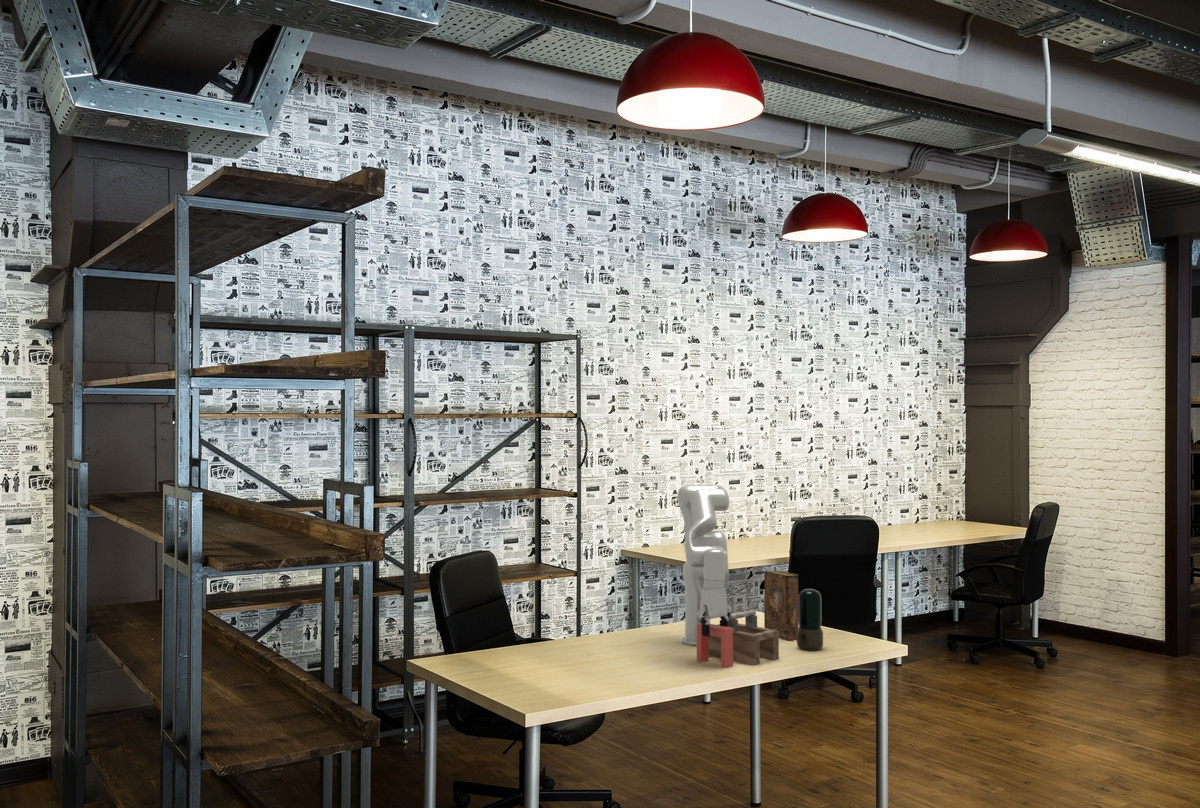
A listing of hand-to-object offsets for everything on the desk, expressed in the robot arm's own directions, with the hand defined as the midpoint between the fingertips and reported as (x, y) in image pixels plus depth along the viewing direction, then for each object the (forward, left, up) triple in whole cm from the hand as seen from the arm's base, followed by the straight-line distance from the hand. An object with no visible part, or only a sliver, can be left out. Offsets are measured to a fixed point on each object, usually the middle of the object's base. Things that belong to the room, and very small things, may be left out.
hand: (714, 633), depth 347 cm
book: (-54, -11, -11) cm, 56 cm away
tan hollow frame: (-15, 0, -10) cm, 18 cm away
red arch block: (0, 0, -10) cm, 10 cm away
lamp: (-44, +9, -11) cm, 46 cm away
